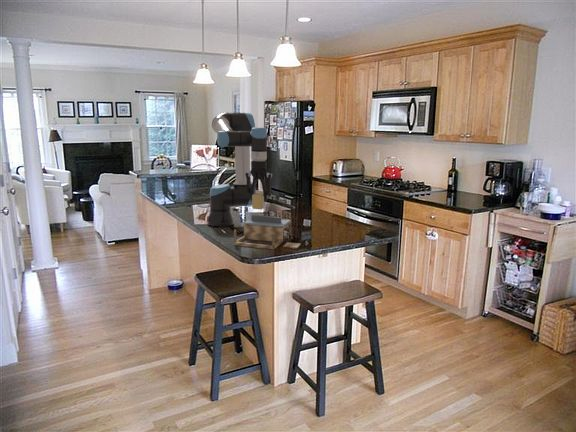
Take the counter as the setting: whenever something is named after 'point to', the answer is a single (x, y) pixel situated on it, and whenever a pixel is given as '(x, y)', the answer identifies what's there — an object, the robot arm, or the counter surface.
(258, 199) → the ochre block
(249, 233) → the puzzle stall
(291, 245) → the cork coaster
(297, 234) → the counter surface
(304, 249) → the counter surface
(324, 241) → the counter surface
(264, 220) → the cover
